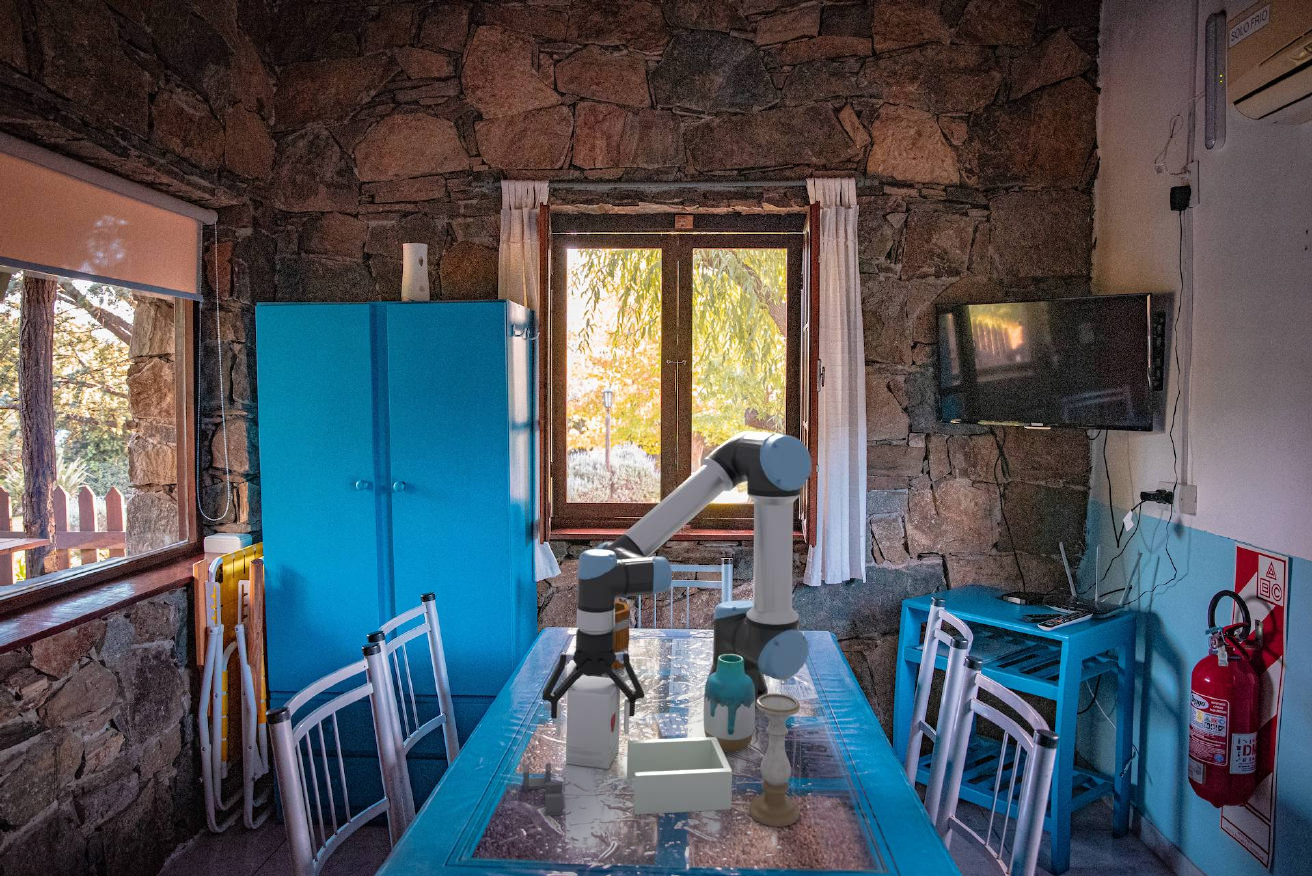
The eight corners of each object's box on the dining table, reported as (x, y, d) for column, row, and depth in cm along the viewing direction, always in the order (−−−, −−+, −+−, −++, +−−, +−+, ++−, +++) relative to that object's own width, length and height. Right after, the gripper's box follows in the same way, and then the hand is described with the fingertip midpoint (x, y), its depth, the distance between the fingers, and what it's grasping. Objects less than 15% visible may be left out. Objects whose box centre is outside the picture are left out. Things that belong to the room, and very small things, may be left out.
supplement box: (608, 770, 150) (610, 695, 149) (564, 764, 152) (565, 690, 151) (620, 749, 159) (621, 677, 158) (578, 743, 161) (579, 673, 160)
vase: (758, 741, 164) (761, 653, 163) (747, 764, 154) (750, 670, 153) (710, 733, 167) (712, 646, 166) (696, 755, 157) (699, 663, 156)
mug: (590, 650, 217) (591, 598, 216) (636, 656, 214) (637, 602, 212) (563, 675, 198) (564, 618, 197) (613, 682, 195) (614, 623, 194)
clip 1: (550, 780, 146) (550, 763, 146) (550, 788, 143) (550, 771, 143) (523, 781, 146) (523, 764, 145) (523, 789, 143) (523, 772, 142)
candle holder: (765, 832, 131) (769, 715, 129) (740, 805, 139) (743, 695, 137) (809, 821, 134) (813, 707, 133) (781, 796, 142) (785, 688, 141)
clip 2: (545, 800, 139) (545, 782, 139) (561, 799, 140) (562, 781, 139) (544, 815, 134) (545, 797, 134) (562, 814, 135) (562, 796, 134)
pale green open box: (714, 771, 151) (716, 736, 150) (730, 809, 138) (732, 771, 137) (627, 775, 148) (627, 740, 148) (634, 814, 135) (635, 775, 135)
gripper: (655, 622, 159) (651, 722, 161) (532, 623, 156) (529, 725, 157) (660, 633, 152) (656, 739, 153) (531, 635, 148) (528, 742, 150)
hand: (592, 732), depth 155 cm, fingers open, 13 cm apart
